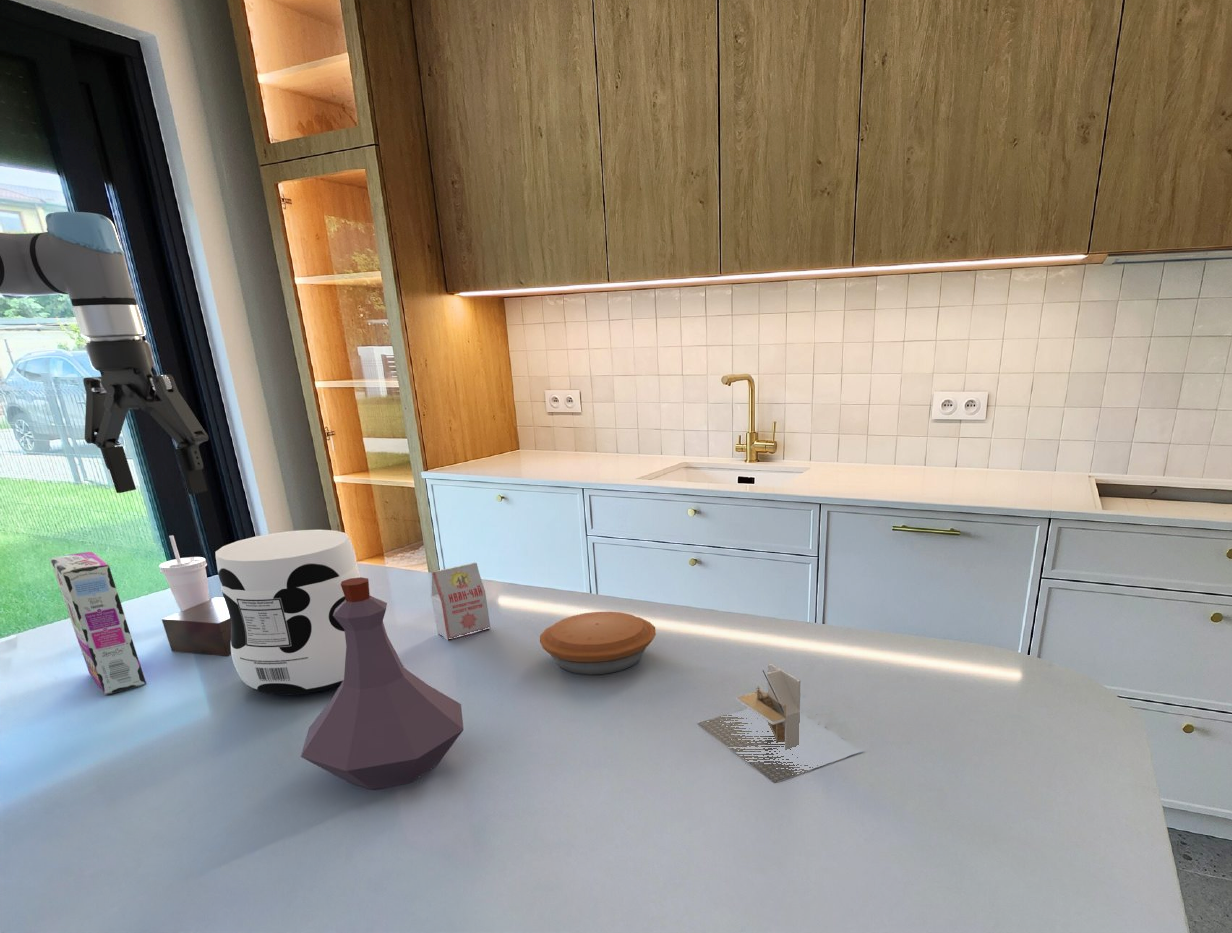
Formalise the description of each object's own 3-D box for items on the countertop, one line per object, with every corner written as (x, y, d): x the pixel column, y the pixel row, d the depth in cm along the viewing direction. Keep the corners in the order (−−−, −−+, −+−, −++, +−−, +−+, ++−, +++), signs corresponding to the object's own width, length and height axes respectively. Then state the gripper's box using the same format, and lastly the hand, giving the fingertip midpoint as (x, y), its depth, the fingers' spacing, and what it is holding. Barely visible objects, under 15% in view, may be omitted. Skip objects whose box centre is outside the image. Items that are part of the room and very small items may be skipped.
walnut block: (171, 651, 115) (161, 619, 113) (225, 627, 123) (216, 596, 121) (227, 656, 112) (218, 623, 110) (278, 631, 121) (270, 600, 119)
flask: (287, 763, 83) (238, 582, 75) (436, 714, 93) (406, 548, 85) (337, 831, 72) (285, 624, 64) (501, 767, 81) (474, 580, 73)
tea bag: (437, 634, 118) (426, 569, 114) (479, 623, 121) (470, 560, 118) (447, 640, 115) (436, 574, 111) (490, 629, 119) (481, 565, 115)
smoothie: (166, 626, 125) (139, 539, 119) (198, 612, 130) (174, 529, 125) (200, 628, 123) (174, 540, 118) (231, 614, 129) (207, 530, 124)
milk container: (367, 643, 115) (342, 521, 108) (400, 681, 102) (374, 545, 95) (234, 673, 106) (197, 542, 99) (251, 720, 93) (210, 573, 86)
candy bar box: (150, 684, 104) (110, 564, 97) (104, 697, 100) (60, 573, 94) (131, 662, 111) (92, 549, 105) (88, 673, 108) (46, 556, 101)
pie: (524, 679, 101) (520, 643, 99) (564, 635, 115) (560, 603, 113) (641, 685, 99) (639, 648, 97) (667, 639, 113) (665, 606, 111)
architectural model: (773, 754, 82) (774, 689, 79) (737, 727, 87) (736, 666, 84) (800, 745, 83) (801, 681, 80) (762, 719, 89) (763, 659, 86)
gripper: (209, 335, 110) (248, 488, 119) (73, 341, 117) (119, 485, 125) (163, 336, 104) (208, 498, 112) (22, 343, 110) (74, 495, 118)
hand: (161, 492), depth 118 cm, fingers open, 13 cm apart
